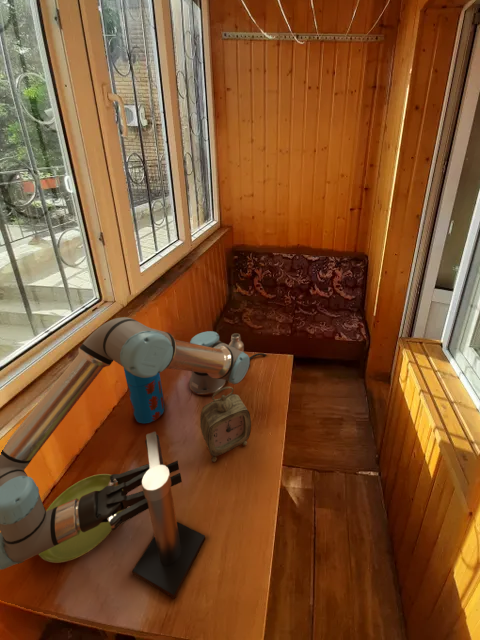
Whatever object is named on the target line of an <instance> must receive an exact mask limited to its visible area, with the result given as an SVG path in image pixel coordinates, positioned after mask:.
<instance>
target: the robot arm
mask: <svg viewBox="0 0 480 640" xmlns="http://www.w3.org/2000/svg"><path fill="white" fill-rule="evenodd" d="M258 356H264V357H267V356H268V355H267V354H266V353H264V352H259V353H255V354H252V355H250V356H249V355H248V354H247V353H246V352H245V351H243V352H242V351H240V350H237V349H235V348H233V347H231V346H229V344H227V343H225V342H223V341H221V340H220V335H219V333H217V332H216V331H213V330H212V331H211V330H207V331H202V332H200V333H197V334H195V335H194V336H193V337H192V338H191V339H190V341H183V340H178V339H175V337H174V335H172V333H170V332H167V331H163V330H159V329H156V328H152V327H149V326H147V325H145V324H143V323H142V322H139V321H138V320H137V319H135V318H132V317H127V316H125V317H116V318H113V319H111V320H108V321H107V322H104V323H102V325H100V326H98V328H96V329H95V330H94V331H93V332H92V333H91V334H89V336H88V337H87V338H86V339H85V340H84V341H83V342H82V344H81V345H80V346H79V347H78V355H76V357H75V358H74V359H73V361H72V362H71V363H70V364H69V366H68V367H67V368H66V369H65V370H64V371H63V372H62V373H61V375H60V376H59V377H58V379H57V380H56V381H55V382H54V383H53V385H52V386H51V387H50V388H49V390H48V391H47V392H46V393H45V394H44V396H43V397H42V398H41V399H40V401H38V403H37V404H36V405H35V407H34V408H33V409H32V410H31V411H30V412H29V414H27V416H26V417H25V419H23V421H22V422H21V423H20V425H18V427H17V428H16V430H14V431H13V433H12V435H10V437H9V438H10V439H9V438H8V439H9V440H8V439H7V441H8V442H7V441H6V442H7V444H6V445H5V447H4V449H3V450H2V452H1V455H0V570H6V569H8V568H11V567H12V566H15V565H19V564H22V563H24V562H25V561H26V560H29V559H31V558H34V557H36V556H37V555H38V554H39V553H41V552H44V551H46V550H48V549H50V548H52V547H54V546H56V545H58V544H60V543H62V542H65V541H67V540H69V539H71V538H73V537H75V536H77V535H79V534H80V532H81V531H82V532H86V531H88V530H90V529H93V528H95V527H97V526H98V525H99V524H100V523H102V522H109V524H110V526H111V529H112V531H115V530H116V529H118V528H119V527H120V526H121V525H122V524H124V523H125V522H126V521H129V520H130V519H133V518H135V517H136V516H138V515H140V514H142V513H143V512H145V511H147V510H149V507H148V503H147V499H146V498H145V496H144V492H143V490H142V491H138V492H135V493H132V494H129V495H128V493H130V492H132V491H133V490H135V489H137V488H138V487H141V486H142V478H143V476H144V474H145V473H146V472H147V471H148V470H149V469H150V468H149V463H147V464H144V465H141V466H137V467H135V468H132V469H130V470H126V471H124V472H121V473H113V474H110V475H111V476H110V482H109V484H108V486H106V487H105V488H103V489H102V490H100V491H93V492H91V493H89V494H86V495H84V496H82V497H81V498H80V500H79V499H77V498H76V499H74V500H72V501H69V502H67V503H65V504H62V505H60V506H58V507H55V508H54V509H51V510H48V511H46V510H47V509H46V507H45V506H44V503H43V500H42V498H41V495H40V489H39V486H38V485H37V484H36V482H35V480H34V478H32V477H31V476H28V474H27V472H26V470H25V469H26V468H27V467H28V466H29V465H30V463H31V462H32V460H33V459H34V458H35V457H36V455H37V454H38V453H39V451H40V450H41V449H42V448H43V446H44V445H45V444H46V442H47V441H48V439H50V437H51V436H52V435H53V433H54V432H55V431H56V430H57V428H58V427H59V426H60V425H61V423H62V422H63V420H64V419H65V418H66V417H67V416H68V414H69V413H70V412H71V410H72V408H74V406H75V405H76V404H77V402H78V401H79V400H80V398H81V397H82V395H83V394H85V392H86V391H87V390H88V388H89V387H90V386H91V385H92V383H93V382H94V381H95V379H96V378H97V376H98V375H99V374H100V373H101V371H103V369H104V368H106V367H110V366H111V365H112V364H113V362H116V363H117V364H118V365H120V366H121V367H122V368H123V370H124V369H125V370H126V371H128V372H129V373H131V374H133V375H135V376H138V377H142V378H148V377H152V376H155V375H157V373H162V372H165V371H166V370H176V371H185V372H191V375H190V378H189V389H190V391H191V392H192V393H193V394H194V395H197V396H201V397H208V396H213V395H214V393H215V392H216V391H218V390H220V389H222V388H224V387H226V384H227V382H228V384H232V385H238V384H239V383H240V382H241V381H242V380H243V379H244V378H245V376H246V375H247V373H248V371H249V368H250V365H251V362H250V361H251V360H252V359H253V358H255V357H258ZM165 466H166V467H168V469H169V472H170V474H172V473H174V472H176V471H179V470H180V466H179V461H178V460H175V461H173V462H170V463H168V464H165ZM170 478H171V488H172V487H175V486H176V485H179V484H180V483H183V482H182V474H181V472H178V473H176V474H173V475H172V476H170ZM119 484H120V485H119ZM117 485H118V486H117ZM122 489H123V490H122ZM121 510H123V511H121ZM118 511H121V512H119V513H118V514H116V513H117V512H118Z"/></svg>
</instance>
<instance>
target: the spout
mask: <svg viewBox="0 0 480 640" xmlns="http://www.w3.org/2000/svg"><path fill="white" fill-rule="evenodd" d="M145 437H146V439H145V440H144V441H145V442H144V443H145V448H146V452H147V453H146V454H147V457H148V464H149V468H150V469H149V470H148V471H147V472H146V473H145V474H144V476H143V478H142V485H141V486H142V491H143V492H144V496H145V498H146V499H147V500H149V501H157V500H160V499H162V498H163V497H164V496H165V495H166V494H167V493H168V492H169V490H170V488H171V489H172V487H171V478H170V477H171V473H170V472H169V469H168V467H166V464H164V458H163V454H162V447H161V442H160V436H159V434H157V432H156V431H152V432H150V433H147V434H146V435H145Z"/></svg>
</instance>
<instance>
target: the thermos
mask: <svg viewBox="0 0 480 640" xmlns="http://www.w3.org/2000/svg"><path fill="white" fill-rule="evenodd" d="M123 371H124V377H125V381H126V385H127V386H126V387H127V391H128V395H129V400H130V405H131V409H132V413H133V416H134V419H135V421H136V422H137V423H139V424H150V423H152V422H154V421H157V420H158V419H159V418H160V417H161V416H162V415H163V414H164V412H165V399H164V393H163V392H164V391H163V385H162V381H161V374H160V373H161V372H160V373H157V375H155V376H152V377H148V378H142V377H138V376H135V375H133V374H131V373H129V372H128V371H126V370H125V369H124V368H123Z"/></svg>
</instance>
